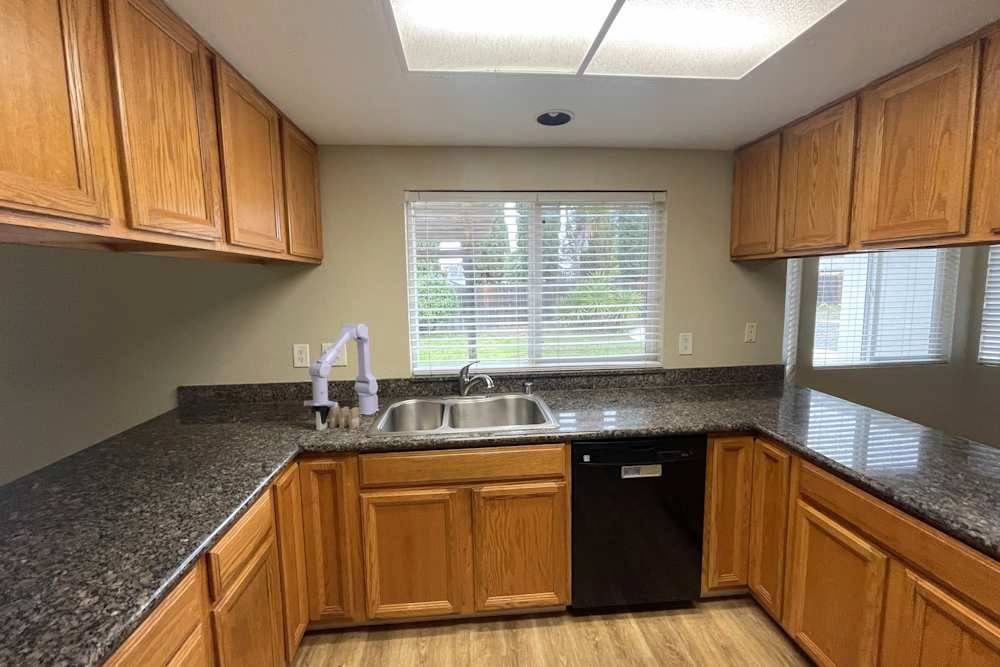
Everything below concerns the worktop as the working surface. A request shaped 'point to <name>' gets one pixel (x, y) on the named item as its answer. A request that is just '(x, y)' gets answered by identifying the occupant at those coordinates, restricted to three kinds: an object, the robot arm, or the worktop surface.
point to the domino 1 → (318, 422)
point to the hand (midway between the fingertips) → (321, 423)
